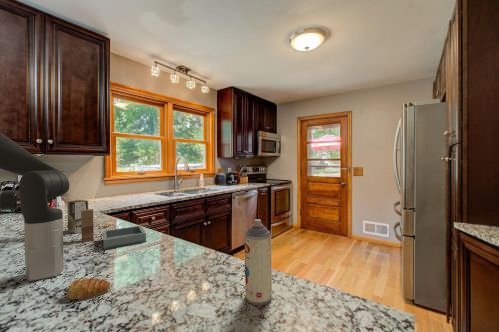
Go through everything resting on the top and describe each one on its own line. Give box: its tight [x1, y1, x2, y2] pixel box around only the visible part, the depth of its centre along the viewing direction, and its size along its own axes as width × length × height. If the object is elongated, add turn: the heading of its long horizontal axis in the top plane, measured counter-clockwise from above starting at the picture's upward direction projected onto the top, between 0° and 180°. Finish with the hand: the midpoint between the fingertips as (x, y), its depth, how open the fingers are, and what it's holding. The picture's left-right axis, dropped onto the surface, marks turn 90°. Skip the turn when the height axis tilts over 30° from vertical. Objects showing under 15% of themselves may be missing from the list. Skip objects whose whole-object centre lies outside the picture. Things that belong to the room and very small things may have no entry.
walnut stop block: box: [81, 208, 95, 243], centre depth 105 cm, size 4×4×14 cm
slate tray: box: [102, 225, 147, 251], centre depth 104 cm, size 16×16×4 cm
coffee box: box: [66, 199, 89, 234], centre depth 121 cm, size 9×6×16 cm
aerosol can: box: [244, 218, 273, 307], centre depth 58 cm, size 7×7×20 cm
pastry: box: [66, 277, 111, 301], centre depth 62 cm, size 9×7×4 cm
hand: (54, 198), depth 99 cm, fingers open, 8 cm apart
